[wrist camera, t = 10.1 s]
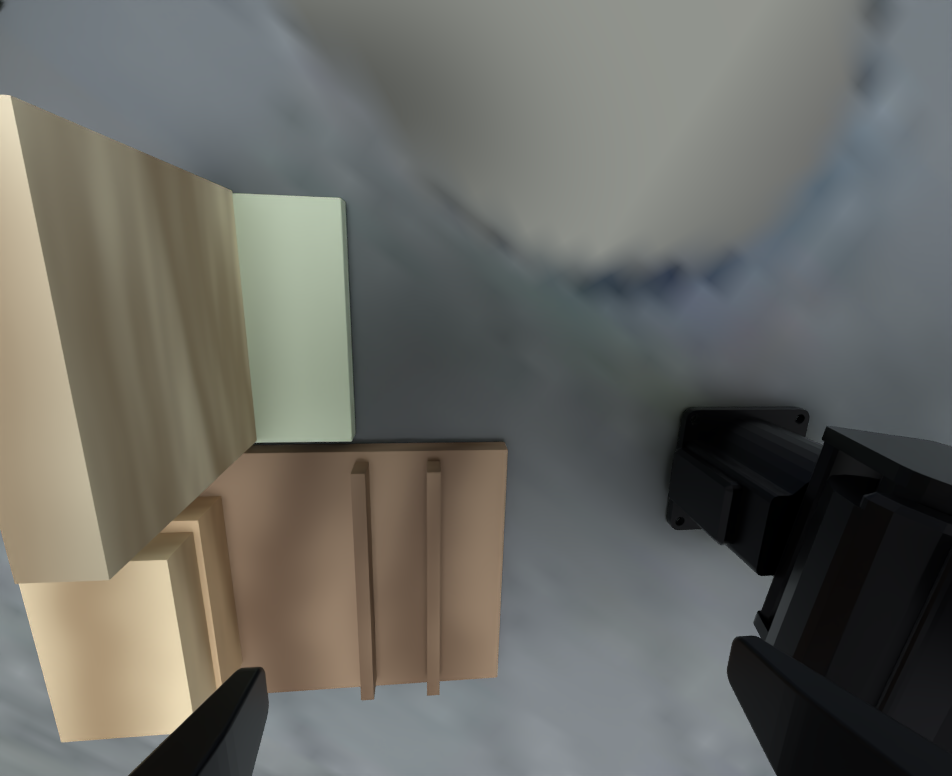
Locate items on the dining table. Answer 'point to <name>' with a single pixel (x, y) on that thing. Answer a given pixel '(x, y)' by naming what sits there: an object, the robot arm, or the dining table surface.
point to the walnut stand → (366, 562)
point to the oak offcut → (213, 580)
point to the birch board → (110, 346)
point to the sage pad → (297, 316)
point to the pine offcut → (125, 644)
